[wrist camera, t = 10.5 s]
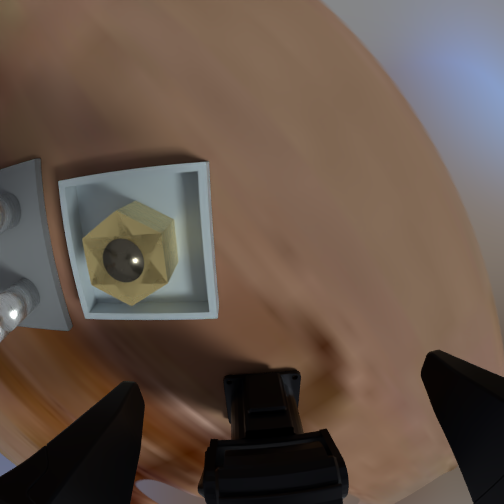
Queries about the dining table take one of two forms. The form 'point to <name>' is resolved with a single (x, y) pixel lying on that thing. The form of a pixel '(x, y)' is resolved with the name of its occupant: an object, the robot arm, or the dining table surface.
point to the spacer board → (31, 248)
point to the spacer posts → (24, 290)
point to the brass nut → (131, 252)
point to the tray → (186, 228)
